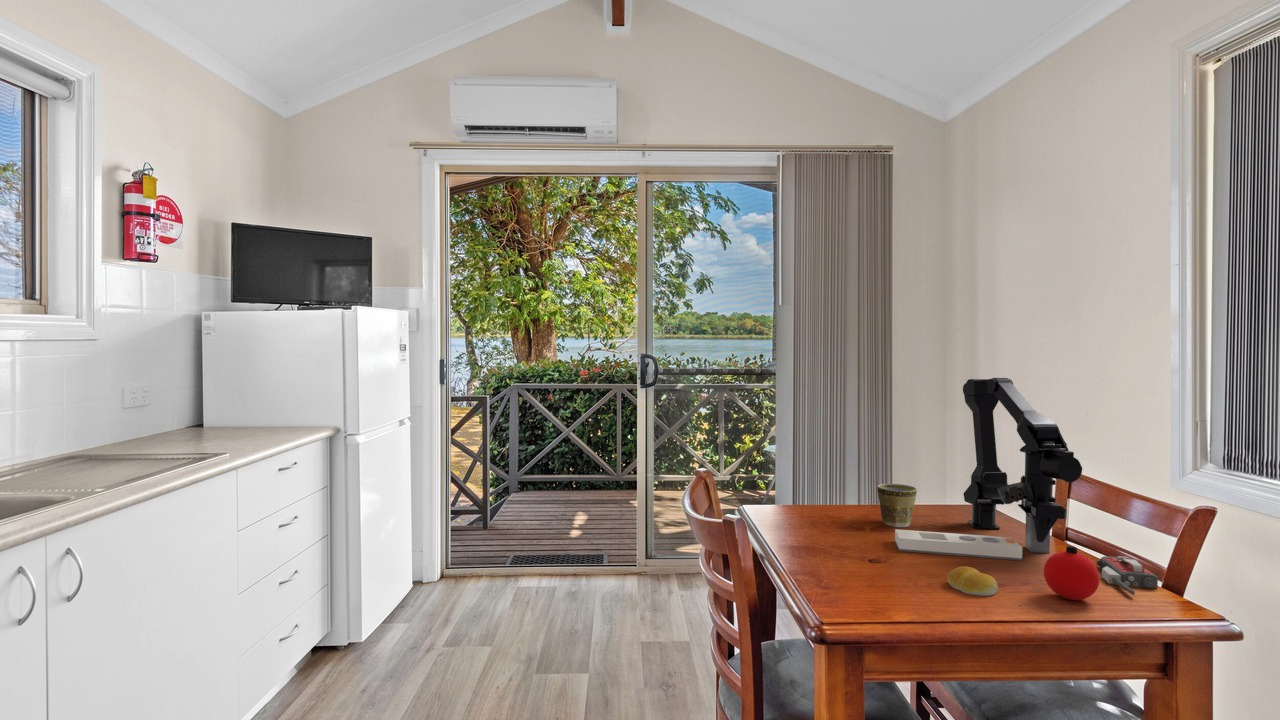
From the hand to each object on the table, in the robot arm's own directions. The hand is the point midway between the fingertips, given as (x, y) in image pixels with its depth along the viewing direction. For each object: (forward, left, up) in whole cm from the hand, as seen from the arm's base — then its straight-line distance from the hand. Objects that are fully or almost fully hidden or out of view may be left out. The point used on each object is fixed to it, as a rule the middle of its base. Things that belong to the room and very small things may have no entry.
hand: (1037, 539), depth 159 cm
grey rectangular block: (0, 0, -3) cm, 3 cm away
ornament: (+33, -4, -3) cm, 33 cm away
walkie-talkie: (+20, +11, -3) cm, 23 cm away
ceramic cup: (-17, -30, -3) cm, 35 cm away
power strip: (+6, -19, -2) cm, 20 cm away
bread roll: (+32, -21, -3) cm, 38 cm away
